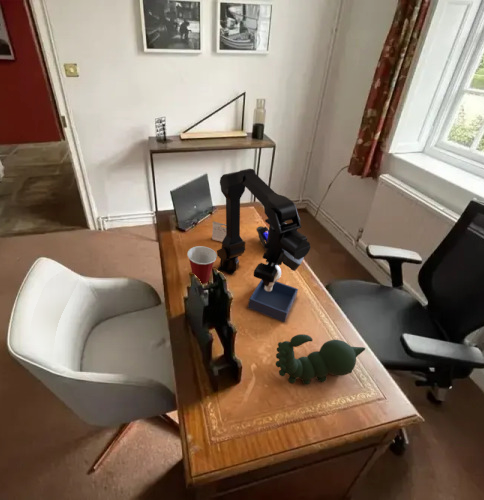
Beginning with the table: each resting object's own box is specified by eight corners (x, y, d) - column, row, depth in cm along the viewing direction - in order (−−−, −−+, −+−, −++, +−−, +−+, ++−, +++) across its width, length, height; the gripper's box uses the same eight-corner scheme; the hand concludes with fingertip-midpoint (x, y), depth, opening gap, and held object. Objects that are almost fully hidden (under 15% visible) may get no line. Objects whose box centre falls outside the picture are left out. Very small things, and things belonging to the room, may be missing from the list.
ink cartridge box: (213, 236, 145) (214, 218, 139) (236, 242, 141) (238, 224, 136) (211, 239, 143) (212, 221, 137) (234, 245, 139) (236, 227, 134)
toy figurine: (281, 398, 85) (367, 380, 88) (287, 356, 74) (385, 337, 77) (270, 367, 93) (350, 352, 96) (274, 325, 82) (364, 309, 84)
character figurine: (267, 236, 147) (277, 256, 135) (252, 236, 145) (261, 256, 134) (270, 222, 142) (282, 241, 131) (255, 222, 141) (265, 241, 129)
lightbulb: (256, 284, 108) (260, 258, 102) (274, 283, 109) (279, 258, 102) (260, 297, 103) (265, 271, 97) (279, 296, 104) (285, 270, 97)
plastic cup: (218, 286, 118) (220, 261, 111) (189, 290, 116) (189, 264, 109) (212, 268, 126) (213, 243, 119) (186, 271, 124) (185, 246, 117)
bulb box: (248, 307, 110) (249, 298, 107) (261, 285, 119) (263, 276, 117) (284, 322, 105) (286, 313, 102) (295, 297, 114) (298, 288, 112)
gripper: (294, 266, 84) (285, 307, 94) (311, 233, 98) (301, 271, 107) (255, 253, 88) (250, 294, 97) (276, 223, 102) (270, 261, 111)
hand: (269, 279), depth 103 cm, fingers closed on lightbulb, 6 cm apart
